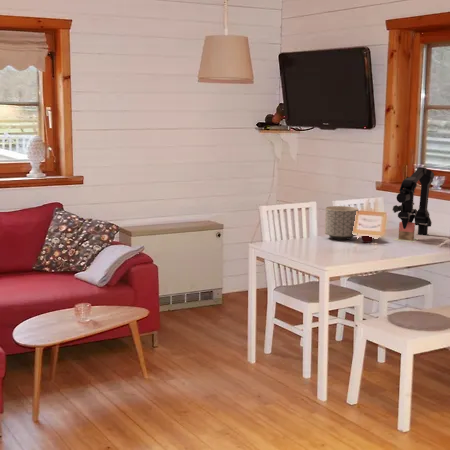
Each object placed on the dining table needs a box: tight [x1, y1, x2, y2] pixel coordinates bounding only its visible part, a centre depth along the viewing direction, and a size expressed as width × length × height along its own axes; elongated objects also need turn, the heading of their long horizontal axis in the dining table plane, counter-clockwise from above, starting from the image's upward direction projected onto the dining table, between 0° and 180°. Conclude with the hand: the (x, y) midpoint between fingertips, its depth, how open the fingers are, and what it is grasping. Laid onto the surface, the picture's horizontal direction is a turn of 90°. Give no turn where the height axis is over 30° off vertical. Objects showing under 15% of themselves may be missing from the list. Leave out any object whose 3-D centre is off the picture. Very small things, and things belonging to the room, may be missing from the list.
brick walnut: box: [397, 230, 415, 241], centre depth 439 cm, size 8×4×5 cm, turn 60°
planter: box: [324, 205, 359, 241], centre depth 443 cm, size 19×19×18 cm
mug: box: [361, 236, 373, 244], centre depth 433 cm, size 10×8×10 cm
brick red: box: [398, 221, 416, 233], centre depth 438 cm, size 8×4×5 cm, turn 58°
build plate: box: [393, 236, 420, 243], centre depth 439 cm, size 12×12×1 cm
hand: (406, 227), depth 438 cm, fingers open, 9 cm apart
